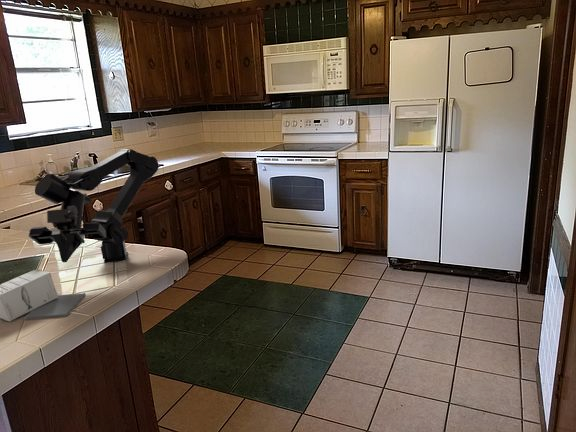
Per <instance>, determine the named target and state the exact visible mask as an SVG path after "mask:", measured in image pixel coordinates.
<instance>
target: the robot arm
mask: <svg viewBox="0 0 576 432" xmlns="http://www.w3.org/2000/svg"><path fill="white" fill-rule="evenodd" d="M124 166H128V167H129V176H128V177H127V179H126V181H125V182H124V183H123V185H122V187H121V188H120V190H119V191H118V193H117V194H116V196H115V198H114V199H113V200H112V202H111V204H110V205H109V207H108V208H107V209H106V210H97V212H96V213H95V216H94V217H93V219H91V220H90V222H89V221H88V222H85V223H84V224H83V227H82V222H83V221H84V220H85V216H84V215H83V214H84V213H83V212H84V208H85V207H84V206H85V204H87V203H91V202H92V199H91V197H89V196H88V193H83V191H84V192H92V191H93V190H95V189H97V187H99V185H101V184H102V181H103V180H104V178H105V177H107V176H109V175H111V174H113V173H114V172H116V171H117V170H119V169H121V168H123V167H124ZM159 168H160V165H159V161H158V160H157V158H156V157H155V156H152V155H150V156H149V155H147V154H143V153H141V152H138V151H135V149H132V148H131V149H130V148H123V149H119V150H118V151H117V152H115V153H113V154H112V155H110V156H108V157H107V158H105V159H103V160H101V161H100V162H97V163H95V164H94V165H91V166H88V167H83V168H78V169H76V170H73V171H71V172H70V173H69V174H68V176H67V177H65V178H63V179H61V178H59V177H58V176H57V175H55V174H53V173H46V175H45V177H43V178H42V179H40V181H39V182H37V183H36V185H35V187H34V193H35V195H36V196H38V197H40V198H42V199H44V200H46V201H48V202H49V203H52V204H54V205H58V204H59V205H60V204H61V207H60V209H51V210H47V211H46V220H47V221H46V223H47V224H52V226H53V227H54V229H49V228H48V227H47V226H38V227H37V226H36V227H32V228H30V230H29V231H28V237H29V238H30V239H32V241H34V242H35V243H36V244H37V245H50V244H52V243H53V242H55V244H56V245H57V247H58V252H59V256H60V259H61V260H60V261H61V262H62V263H64V264H65V263H67V262H68V261H69V259H70V258H71V257H72V255H73V254H74V253H75V251H76V250H77V249H78V248H79V247H80V246H81V245H82V244H84V243H85V236H86V235H91V237H92V238H93V239H94V241H95V240H97V242H101V246H100V251H101V255H102V260H103V262H104V263H112V262H119V261H125V260H127V257H128V254H129V252H128V251H127V247H126V242H125V241H126V240H128V237H129V232H128V231H127V230H126V229H124V228H123V227H122V226H123V224H124V223H123V221H124V220H123V217H124V216H125V213H126V212H127V210H128V208H129V207H130V205H131V204H132V202H133V200H134V198H135V197H136V196H137V194H138V192H139V190H140V189H141V187H142V186H143V184H144V183H145V182H146V181H148V180H150V179H151V178H153V176H154V175H155V174H156V173H157V172H158V170H159ZM80 191H82V192H80Z"/></svg>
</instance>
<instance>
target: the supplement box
mask: <svg viewBox="0 0 576 432" xmlns="http://www.w3.org/2000/svg"><path fill="white" fill-rule="evenodd" d="M58 295H59V294H58V292H57V288H56V286H55V283H54V281H53V278H52V273H51V272H49V271H47V270H42V269H38V268H36V269H33V270H31V271H29V272H26V273H24V274H22V275H19V276H16V277H15V278H12V279H10V280H8V281H5V282H3V283H1V284H0V319H2V320H4V321H7V322H12V321H14V320H15V319H17V318H19V317H22V316H24V315H26V314H27V313H28V314H29V313H30V312H31V311H32V310H34V309H36V308H38V307H40V306H42V305H44V304H46V303H48V302H50V301H52V300H54V299H56V298H58V297H59V296H58Z"/></svg>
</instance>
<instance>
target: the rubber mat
mask: <svg viewBox="0 0 576 432" xmlns="http://www.w3.org/2000/svg"><path fill="white" fill-rule="evenodd" d="M58 296H59V297H58V298H56V299H54V300H52V301H50V302H48V303H46V304H44V305H42V306H40V307H38V308H36V309H34V310H32V311H30V312H28V314H27V315H26V316H25V317H24V320H26V321H27V320H38V319H51V318H62V317H63V318H64V317H68V315H70V314H71V313H72V311H73V310H74V309H75V308H76V307H77V305H79V303H80V302H81V301H82V300H83V299H84V298H85V296H86V293H84V292H82V293H71V294H62V295H60V294H58Z"/></svg>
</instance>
